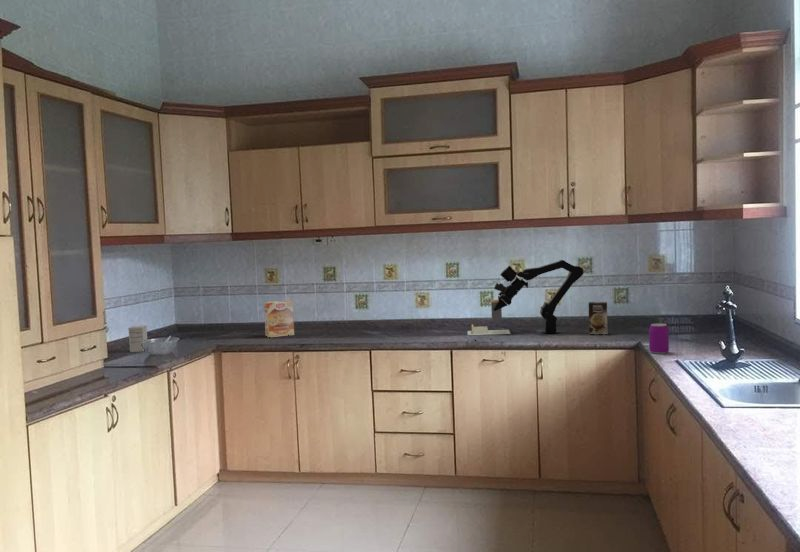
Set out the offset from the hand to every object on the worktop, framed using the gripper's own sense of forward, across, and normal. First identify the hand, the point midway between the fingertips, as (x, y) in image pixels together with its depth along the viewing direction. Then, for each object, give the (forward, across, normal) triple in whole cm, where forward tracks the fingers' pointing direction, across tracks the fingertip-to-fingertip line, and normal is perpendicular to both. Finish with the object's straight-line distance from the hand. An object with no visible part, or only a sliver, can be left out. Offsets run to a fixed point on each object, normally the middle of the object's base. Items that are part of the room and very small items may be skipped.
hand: (493, 309), depth 361 cm
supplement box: (+139, +21, -121) cm, 185 cm away
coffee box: (-27, +8, +46) cm, 54 cm away
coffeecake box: (+94, -18, -75) cm, 122 cm away
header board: (+11, 0, +7) cm, 13 cm away
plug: (+3, 0, +5) cm, 6 cm away
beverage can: (-38, +63, +56) cm, 93 cm away
